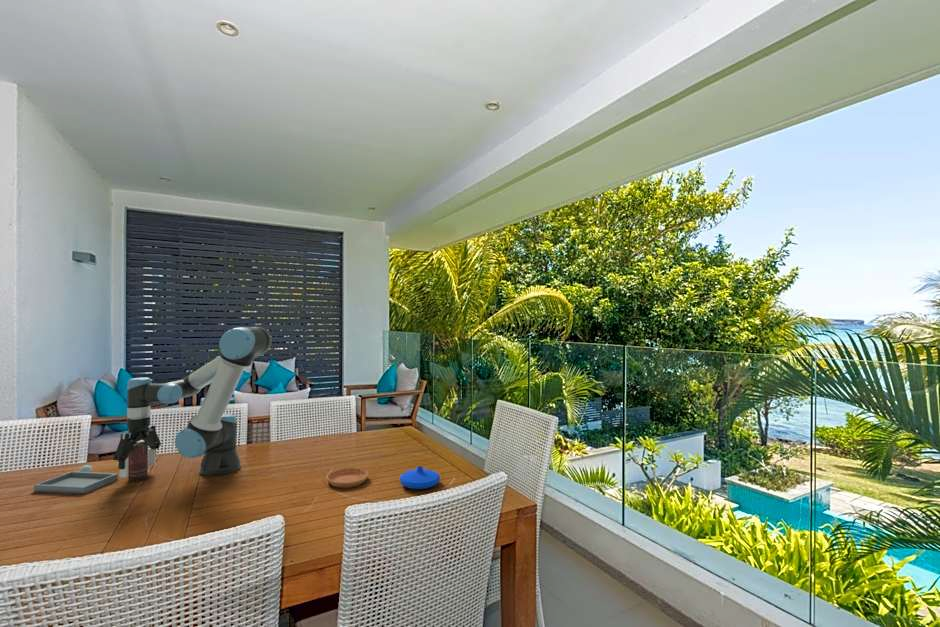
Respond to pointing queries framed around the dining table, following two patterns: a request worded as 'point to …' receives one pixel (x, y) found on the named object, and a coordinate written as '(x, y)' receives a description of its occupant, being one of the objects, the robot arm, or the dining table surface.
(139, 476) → the can
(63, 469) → the dining table surface
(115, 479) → the tray
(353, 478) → the saucer
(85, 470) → the ball
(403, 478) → the blue lid
